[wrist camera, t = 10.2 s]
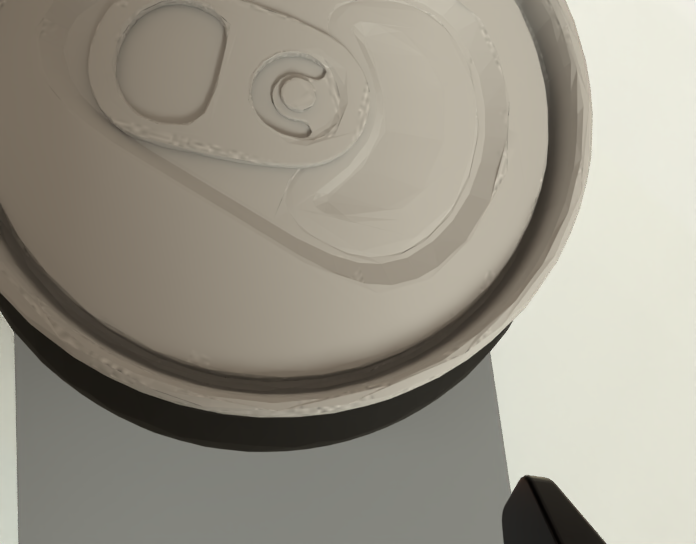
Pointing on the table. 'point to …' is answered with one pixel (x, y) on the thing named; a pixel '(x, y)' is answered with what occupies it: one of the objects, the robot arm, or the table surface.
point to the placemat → (256, 476)
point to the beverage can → (282, 202)
